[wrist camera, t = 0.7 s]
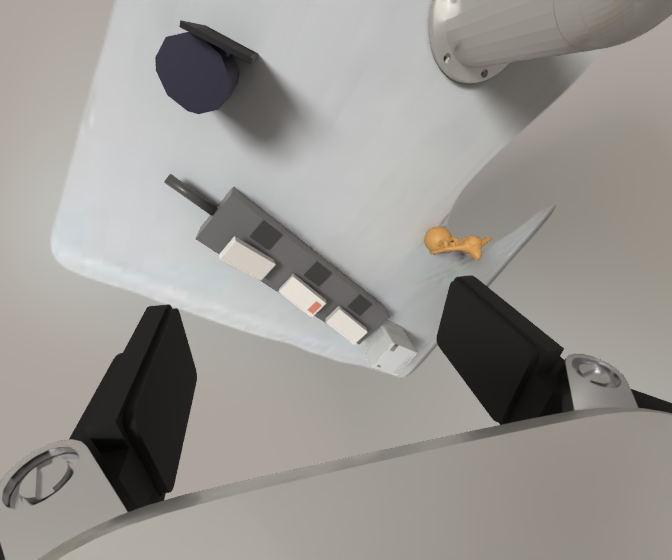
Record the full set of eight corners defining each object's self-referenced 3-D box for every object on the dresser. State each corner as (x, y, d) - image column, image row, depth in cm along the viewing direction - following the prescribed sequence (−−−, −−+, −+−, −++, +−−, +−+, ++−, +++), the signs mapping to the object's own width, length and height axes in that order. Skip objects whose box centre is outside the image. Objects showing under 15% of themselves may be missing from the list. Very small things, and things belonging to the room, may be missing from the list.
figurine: (407, 251, 49) (446, 291, 38) (406, 216, 45) (449, 249, 35) (454, 240, 49) (505, 275, 39) (457, 204, 46) (513, 233, 36)
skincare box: (382, 348, 59) (397, 377, 52) (358, 339, 56) (370, 368, 50) (401, 325, 57) (419, 353, 50) (377, 314, 54) (392, 342, 48)
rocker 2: (293, 273, 41) (292, 276, 40) (325, 299, 43) (326, 303, 42) (279, 288, 42) (278, 292, 41) (311, 313, 44) (311, 318, 42)
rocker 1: (234, 236, 35) (235, 241, 35) (273, 259, 39) (275, 264, 39) (219, 254, 36) (220, 259, 35) (259, 275, 40) (260, 280, 39)
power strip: (189, 150, 35) (181, 156, 31) (381, 302, 53) (390, 317, 49) (155, 196, 37) (144, 207, 33) (352, 329, 54) (359, 345, 51)
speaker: (209, 1, 29) (188, -19, 21) (259, 55, 32) (257, 55, 24) (168, 69, 31) (134, 75, 23) (217, 113, 34) (203, 131, 26)
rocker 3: (338, 305, 45) (339, 309, 44) (366, 328, 47) (367, 332, 46) (325, 318, 46) (325, 322, 45) (353, 340, 48) (354, 344, 47)
